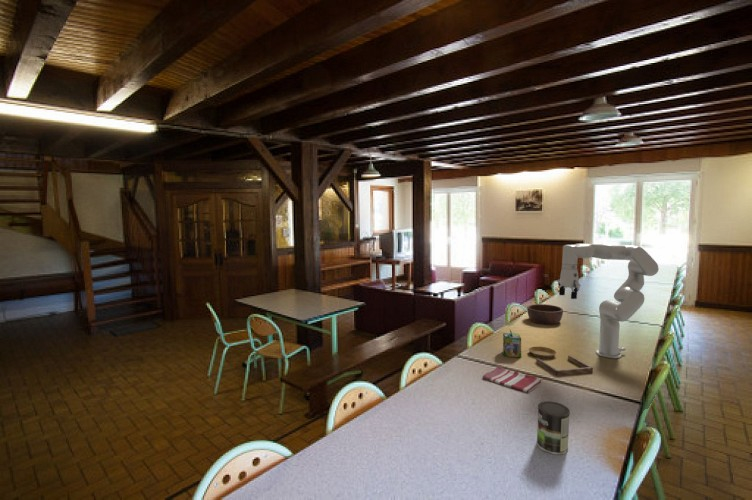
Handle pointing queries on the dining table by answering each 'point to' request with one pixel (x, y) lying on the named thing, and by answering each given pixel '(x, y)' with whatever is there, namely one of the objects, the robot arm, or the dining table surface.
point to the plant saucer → (542, 352)
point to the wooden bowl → (544, 313)
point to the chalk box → (511, 345)
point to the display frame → (584, 369)
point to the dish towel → (513, 379)
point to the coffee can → (553, 427)
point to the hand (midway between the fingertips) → (567, 296)
